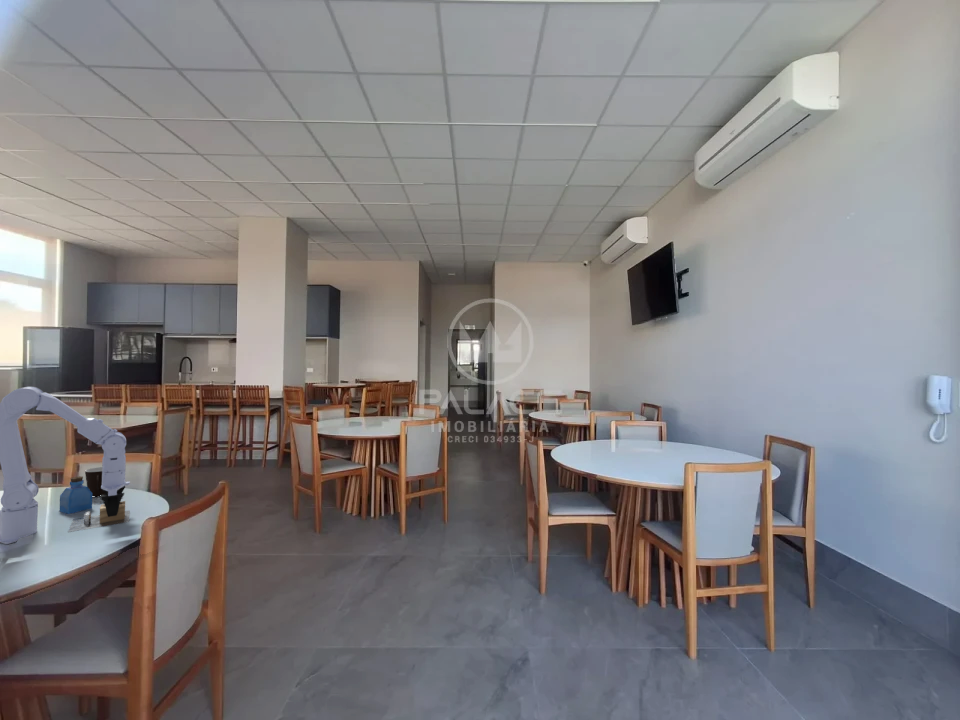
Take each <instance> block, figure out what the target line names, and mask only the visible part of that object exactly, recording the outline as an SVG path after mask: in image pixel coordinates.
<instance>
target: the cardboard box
mask: <svg viewBox="0 0 960 720" xmlns="http://www.w3.org/2000/svg"><path fill="white" fill-rule="evenodd" d="M125 511H126V500H124V501H123V500H121V501H120V504H119V509H118V513H117V515H116V516H110V517H108V515H107V511H106V507H105V504H104V503H103V504H100V507H99V515H100V523H103V522H109V521H115V520H121V519H125Z"/></svg>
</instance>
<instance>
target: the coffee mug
mask: <svg viewBox="0 0 960 720" xmlns="http://www.w3.org/2000/svg"><path fill="white" fill-rule="evenodd" d="M84 473H85V480H86V486H87V487H88V489H89V490H90V491H91V492H92V496H100V495H105V493H104V492H103V489H101V485H102V466H98V467H93V468H88V469H85V470H84Z"/></svg>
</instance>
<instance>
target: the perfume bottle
mask: <svg viewBox="0 0 960 720" xmlns="http://www.w3.org/2000/svg"><path fill="white" fill-rule="evenodd" d="M84 481H85V480H84V476H82V475H81V476H79V475H78V476H73V477H70V481H69V486H70V487H66V488H65V489H64V490H63V491H62V492H61V493H60V496H59V512H61V513H65V514H68V515H70V514H75V513H78V512H83V511H87V510H91V509H93V497H92V492H91V491H90V490H89V489H88V487H87V485H86V486H85V485H83V484H84V483H85V482H84Z"/></svg>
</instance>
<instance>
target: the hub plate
mask: <svg viewBox="0 0 960 720" xmlns="http://www.w3.org/2000/svg"><path fill="white" fill-rule="evenodd" d="M130 512H131V510H129V509H128V510H125V519H121V520H115V521H109V522H103V523H100V514H99V515H92V513H91V511H85V513H83V517H80V518H73V519H72V521H71V524H70V525H69V528H68V530H67V533H71V532H72V533H73V532H77V531H83V530H89V529H96V528H101V527H106V526H107V527H108V526H113V525H118V524H119V525H120V524H126V523H130V514H131V513H130Z"/></svg>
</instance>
